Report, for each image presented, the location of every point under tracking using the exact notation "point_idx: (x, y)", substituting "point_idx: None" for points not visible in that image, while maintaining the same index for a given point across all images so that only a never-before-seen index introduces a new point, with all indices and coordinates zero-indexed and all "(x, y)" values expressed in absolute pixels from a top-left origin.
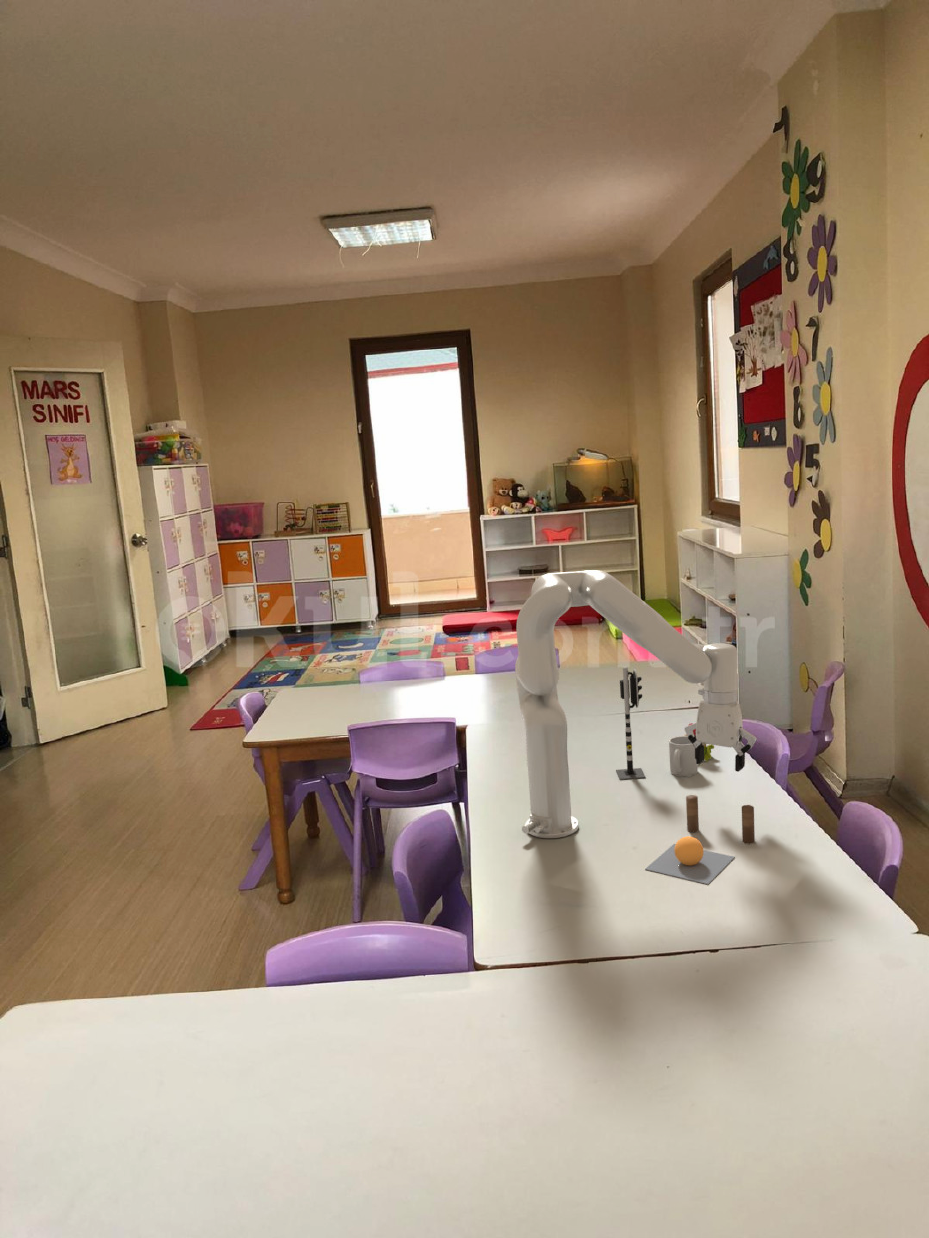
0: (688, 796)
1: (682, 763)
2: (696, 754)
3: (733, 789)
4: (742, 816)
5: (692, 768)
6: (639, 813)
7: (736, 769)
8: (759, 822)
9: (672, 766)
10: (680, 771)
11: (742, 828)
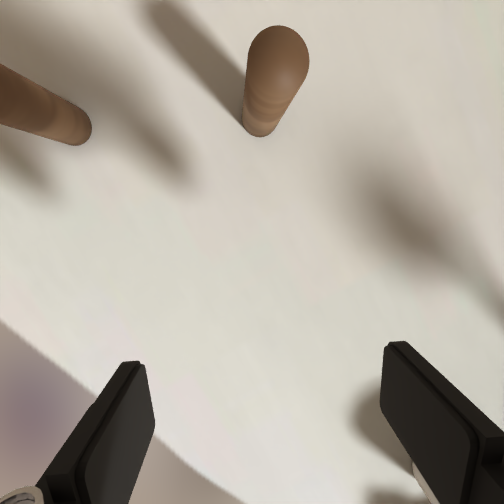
0: (299, 63)
1: None
2: (452, 385)
3: (288, 427)
4: (5, 67)
5: None
6: (455, 153)
7: (127, 366)
8: (121, 272)
9: None
10: None
11: (52, 94)
